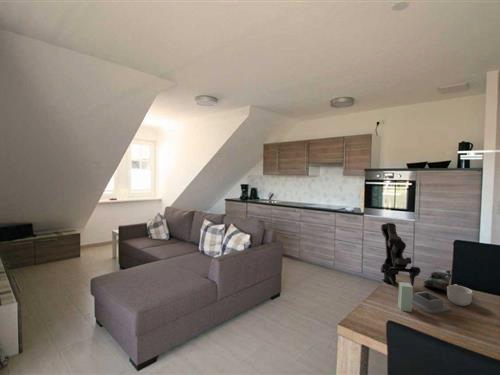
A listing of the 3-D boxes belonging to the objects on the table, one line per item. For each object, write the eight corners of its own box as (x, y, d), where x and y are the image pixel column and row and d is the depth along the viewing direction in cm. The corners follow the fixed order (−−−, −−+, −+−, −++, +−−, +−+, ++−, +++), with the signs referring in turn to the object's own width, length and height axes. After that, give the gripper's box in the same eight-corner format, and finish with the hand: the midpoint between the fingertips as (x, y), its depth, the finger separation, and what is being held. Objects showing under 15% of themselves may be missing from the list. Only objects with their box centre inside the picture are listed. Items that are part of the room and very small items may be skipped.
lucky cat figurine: (418, 284, 166) (423, 263, 169) (436, 292, 166) (441, 271, 169) (435, 287, 151) (441, 264, 155) (455, 296, 151) (460, 273, 154)
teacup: (472, 310, 136) (473, 295, 135) (445, 303, 142) (446, 289, 141) (470, 299, 147) (471, 286, 146) (446, 294, 153) (447, 280, 153)
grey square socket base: (406, 300, 145) (406, 291, 145) (426, 297, 149) (426, 288, 148) (429, 313, 132) (429, 304, 132) (450, 310, 135) (451, 301, 135)
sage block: (397, 305, 140) (398, 281, 139) (408, 306, 138) (409, 283, 138) (400, 310, 135) (402, 286, 134) (411, 311, 134) (412, 287, 133)
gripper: (382, 249, 146) (387, 277, 136) (420, 252, 142) (427, 280, 132) (378, 259, 154) (382, 285, 144) (414, 262, 150) (420, 289, 140)
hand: (403, 285), depth 140 cm, fingers open, 9 cm apart
